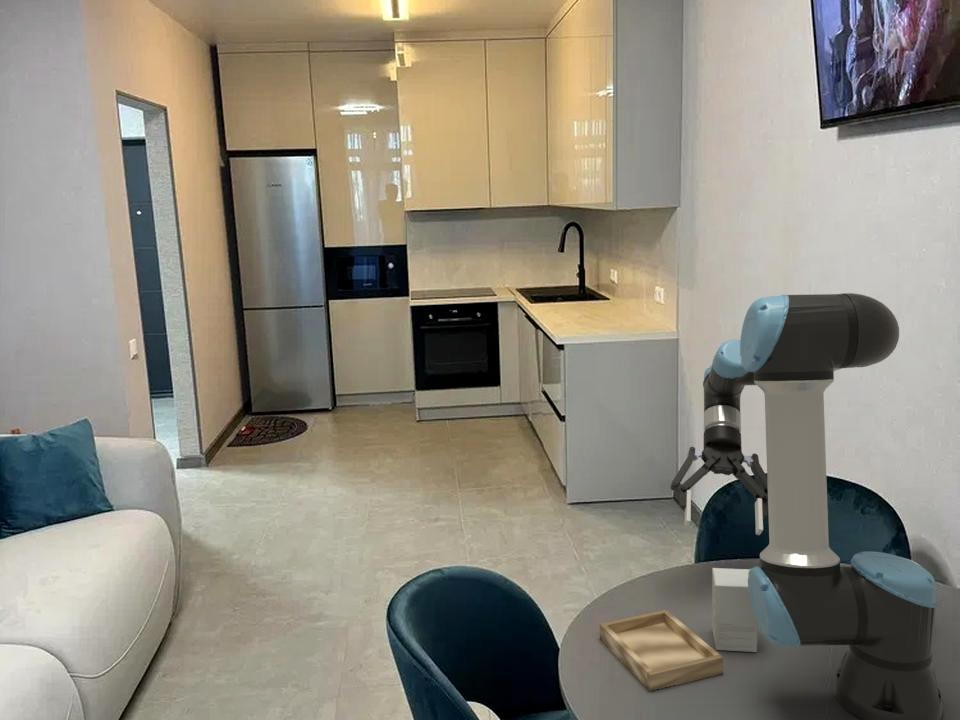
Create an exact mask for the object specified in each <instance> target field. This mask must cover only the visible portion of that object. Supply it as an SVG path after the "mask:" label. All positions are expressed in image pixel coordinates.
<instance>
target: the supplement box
mask: <svg viewBox="0 0 960 720" xmlns="http://www.w3.org/2000/svg"><path fill="white" fill-rule="evenodd" d="M750 569H751V568H749V569H747V568H746V569H745V568H727V567H726V568H720V567H712V568H711V580H712V582H711V584H712V585H711V586H712V587H711V589H712V590H711V591H712V592H711V593H712V594H711V595H712V597H711V599H712V601H711V631H712V635H713V641H714V647H715V651H728V652H729V651H732V652H747V653H757V652H758V628H759V626H758V624H757V621H756V619H755V616H754V613H753V609H752V605H751V601H750V596H749V589H748V577H749V576H748V573H749V570H750Z"/></svg>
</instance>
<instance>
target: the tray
mask: <svg viewBox="0 0 960 720" xmlns="http://www.w3.org/2000/svg"><path fill="white" fill-rule="evenodd" d="M599 640H601V642H603V644H604V645H605V646H606V647H607V648H608V649H609V650H610V651H611V653H613V654H614V655H615V656H616V657H617V659H618V660H619V661H620V662H621V663H622V664H623V665H624V666H625V667H626V668H627V670H629V671H630V673H632V674H633V675H634V676H635V677H636V678H637V680H638V681H639V682H640V683H641V684H642V685H643V686H644V687H645V688H646V689H647V690H648V692H650V691H651V692H654V691H653V690H655V691H658V690H657V689H659V690H662V688H663V689H666V688H665V687H667V688H670V687H669V686H671V687H674V686H673V685H675V686H679V685H683V684H687V683H692V682H695V681H698V680H699V681H700V680H703V679H706V677H707V678H711V677H715V676H718V675H722V674H723V673H724V657H723V656H722V655H721V654H720V653H719V652H717V650H716V649H714V648H713V647H712V646H710V645H709V644H708V643H706V642H705V641H704V640H703V639H702V638H701V637H700V636H698V635H697V634H696V633H695V632H693V631H692V629H690V628H689V627H688V626H686V625H685V624H684V623H683V622H681V620H679V619H678V618H677V617H675V616H674V615H673V614H672V613H671V612H669V611H668V610H667V609H661V610H657V611H654V612H653V611H652V612H649V613H643V614H639V615H634V616H630V617H625V618H621V619H617V620H611V621H610V620H609V621H606V622H602V623H601V622H600V623H599Z"/></svg>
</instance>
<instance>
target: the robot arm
mask: <svg viewBox="0 0 960 720" xmlns="http://www.w3.org/2000/svg"><path fill="white" fill-rule="evenodd" d="M899 338H900V327H899V322H898V321H897V319H896V316H895V314H894V313H893V312H892V310H891V309H890V308H889V307H887V305H885V303H883V302H881V301H880V300H878V299H877V298H876V299H875V298H873V297H871V296H868V295H864V294H859V293H853V292H852V293H851V292H849V293H847V292H846V293H832V294H831V293H827V294H826V293H825V294H824V293H822V294H821V293H820V294H816V293H815V294H780V295H773V296H765V297H764V296H763V297H760V298H757V299H756V300H754V301H753V302H752V303H751V304H750V306H749V308H748V309H747V311H746V313H745V317H744V319H743V323H742V328H741V332H740V339H738V338H737V339H729V340H726V341H724V342H723V343H721V345H720V346H719V347H718V348H717V351H716V352H715V354H714V357H713V359H712V365H710V366H709V367H707V368H706V369H705V370H704V373H703V374H704V375H703V376H704V377H703V381H702V386H703V387H702V388H703V431H704V432H703V450H699V449H696V447H694V446H690V447H689V449H688V452H687V457H686V459H685V460H684V462H683V463H682V465H681V467H680V469H679V470H678V471H677V473H676V475H675V476H674V478H673V480H672V482H671V484H670V490H671V491H676V492H677V493H678V495H679V503H678V504H679V507H680V509H684V526H685V527H689V526H690V524H691V521H692V520H691V518H692V517H691V516H692V513H691V511H692V508H691V507H692V505H691V504H692V503H691V502H692V498H691V497H692V490H691V489H692V488H693V487H694V486H695V485H696V484H697V483H698V482H699V481H701V479H703V478H704V477H705V476H706V475H708V474H709V473H710V472H712V473H713V474H714V475H721V474H722V475H725V476H730V475H733V476H734V478H735V479H737V480H739V482H741V484H742V485H743V486H744V487H745V488H746V490H748V492H749V493H750V494H751V495H752V496H753V497H754V499H756V501H755V503H754V512H755V513H754V515H755V516H754V518H755V519H754V520H755V535H756V536H760V535H761V534H762V533H763V531H764V521H763V520H764V519H766V517H767V515H768V538H769V544H768V545H767V546H766V547H765V548H764V549H763V550H762V551H761V552H760V553H759V566H754V567H751V568H749V569H750V570H749V573H748V576H749V577H748V589H749V596H750V601H751V605H752V609H753V613H754V616H755V619H756V621H757V624H758V628H759V630H760V633H761V634H762V635H763V636H764V638H765V640H767V642H769V643H771V644H773V645H777V646H778V645H779V646H794V647H796V648H797V647H799V648H800V647H801V646H804V647H805V646H810V647H811V646H847V649H846V651H845V653H844V655H843V657H842V660H841V662H840V665H839V667H838V669H837V671H836V672H835V677H834V685H833V686H834V690H833V691H834V695H835V698H836V700H837V701H838V703H839V704H840V705H841V706H843V708H844V709H845V710H847V712H850V713H851V714H852V715H853V716H856V717H857V718H860V719H861V720H941V719H942V715H943V703H944V702H943V701H944V700H943V696H942V692H941V690H940V689H939V687H938V682H937V677H936V673H935V670H934V667H933V651H934V637H935V624H936V623H935V622H936V611H937V607H938V600H937V583H936V580H935V578H934V576H933V575H932V574H931V572H929V571H928V570H927V569H926V568H925V567H923V566H921V565H920V564H919V563H918V564H919V565H918V564H916V563H917V562H916V563H914V562H915V561H914V562H912V561H913V560H912V561H910V560H911V559H909V560H907V559H908V558H906V559H905V557H903V558H902V556H899V555H898V556H897V555H894V554H890V553H887V552H880V551H860V552H858V553H855V554H854V555H853V556H852V559H851V560H850V565H849V566H848V565H847V566H841V559H840V557H839V556H838V555H837V553H835V552H834V551H833V550H832V549H831V547H830V546H829V545H830V544H829V543H830V542H829V539H830V538H829V520H828V519H829V518H828V516H829V515H828V490H827V488H828V487H827V485H828V483H827V457H826V451H827V450H826V427H825V425H826V424H825V399H824V393H825V391H826V390H827V389H828V388H829V387H830V385H832V383H834V382H835V378H834V375H835V374H834V372H836V371H839V370H841V369H853V368H867V367H869V366H873V365H875V364H879V363H880V362H881V363H882V362H883V361H884V360H886V359H887V358H888V357H890V356H891V354H892V353H894V351H895V350H896V348H897V346H898V343H899V340H900V339H899ZM745 386H757V387H758V388H759V389H760V390H761V391H762V392H763V393H764V415H765V416H764V417H765V419H764V420H765V421H764V422H765V442H766V443H765V446H766V450H765V451H766V469H767V470H766V472H765V471H764V470H763V467H762V465H761V464H760V460H759V455H758V454H757V453H752V455H744V454H743V450H742V449H743V448H742V433H741V432H742V420H741V419H742V417H741V414H742V413H741V395H742V392H743V390H744V388H745ZM699 458H701V460H702V461H703V463H704V464H702V466H700V467H699V468H698V469H697V470H696V471H695V472H694V473H693V474H692V475H690V477H689V478H687V480H685V481H684V482H683V483H681V482H682V481H683V479H684V477H685V476H686V474H687V472H688V471H689V469H690V468H691V466H692V465H693V462H695V461H697V460H698V459H699ZM743 463H745V464H746V465H747V466H748V468H750V470H751V472H752V475H753V476H754V478H755V479H754V478H753V477H751V475H750V474H749V473H748V472H747V470H746V468H745V467H744V466H743V465H742V464H743ZM755 480H756V481H755Z"/></svg>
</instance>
